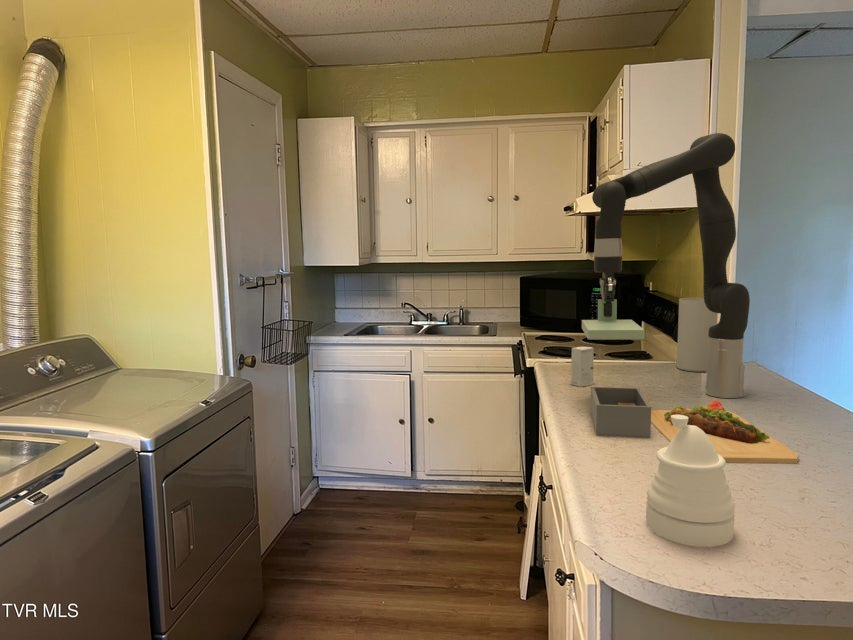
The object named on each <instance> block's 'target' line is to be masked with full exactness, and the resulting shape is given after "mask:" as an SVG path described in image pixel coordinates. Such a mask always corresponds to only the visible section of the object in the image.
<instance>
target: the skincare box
mask: <svg viewBox="0 0 853 640" xmlns="http://www.w3.org/2000/svg"><path fill="white" fill-rule="evenodd" d="M594 352H595V351H594V347H590V346H577V347H572V348H571V372H570V373H571V377H570V378H571V379H570V380H571V383H570V385H572V386H574V385H575V387H578V386H579V388H582V387H588V386H592V385H593V384H594V357H595V356H594V354H595V353H594Z"/></svg>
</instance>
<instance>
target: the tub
mask: <svg viewBox="0 0 853 640" xmlns="http://www.w3.org/2000/svg"><path fill="white" fill-rule="evenodd" d="M618 403H634V404H635V405H636V406H629V405H618ZM651 410H652V406H651V404H650V403H649V401H648V400H647V398H646V396H645V395H644V394H643V392H642V391H641V389H640V387H639V388H638V387H637V388H636V387H609V386H608V387H607V386H591V387H590V411H589V413H590V417H591V420H592V421H591V422H592V425H593V428H594V433H595V436H601V437H602V436H603V437H604V436H605V437H618V438H619V437H623V438H624V437H625V438H643V439H644V438H647V439H651V430H652V429H651V425H652V423H651Z"/></svg>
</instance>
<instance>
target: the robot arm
mask: <svg viewBox="0 0 853 640" xmlns="http://www.w3.org/2000/svg"><path fill="white" fill-rule="evenodd" d="M735 153H736V142H735V141H734V139H733V138H732V137H731V136H730V135H728V134H726V133H721V132H715V133H710V134H708V135H704V136H700V137H698V138H697V139H695V140H694V141H692V143H691V145H690V147H689V149H688V150H686V151H683V152H681V153H679V154H676V155H673V156H670V157H667V158H664V159H662V160H658V161H655V162H652V163H650V164H647V165H645V166H643V167H640V168H638V169H636V170H634V171H631V172H629V173H628V174H625V175H623V176H621V177H618V178H614V179H612V180H610V181H607V182H604V183H601V184H599V185H598V186H597V187H596V188H594V190H593V192H592V202H593V204H594V205H595V206H596V207H597V208H600V212H599V217H598V219H597V220H596V222H595V235H594V236H595V237H594V245H593V246H594V252H593V253H594V254H593V255H594V256H593V258H594V259H593V271H594V272H595V273H602V278H599V285H600V295H601V298H600V299H603V302H604V316H605V317H611V316H612V304H611V303H613V302H614V299H615V294H616V288H617V287H616V284H617V279H616V278H615V277H614V274H615V273H621V272H622V271H623V242H622V228H623V227H622V226H623V225H622V221H623V218H624V212H625V208H626V203H627V202H626V201H627V200H630V199H633V198H637V197H639V196H643V195H645V194H647V193H650V192H652V191H655V190H657V189H659V188H662V187H665V186H666V185H668V184H670V183H672V182H674V181H676V180H679V179H681V178H683V177H686V176H689V175H691V174H692V178H693V183H694V189H695V196H696V198H695V199H696V206H697V207H696V208H697V214H698V216H697V217H698V227H699V234H700V243H701V251H702V252H701V253H702V266H703V290H702V291H703V292H702V293H703V298H704V302H705V305H706V307H707V308H708V309H709V310H710V311H712V312H714V313H718V314H720V317H719V321H718V322H717V325H714V326H711V327H710V328H709V332H708V356H707V372H706V384H705V394H707V395H708V396H711V397H714V398H721V399H735V398H736V399H738V398H744V385H745V369H746V368H745V365H744V364H743V359H744V358H743V354H744V337H745V333H746V330H747V327H748V321H749V315H750V313H749V311H750V303H751V301H750V299H751V297H750V292H749V290H748V288H747V287H746V286H745V285H744V284H741V283H737V282H736V283H735V282H729V281H728V276H727V264H728V263H727V261H728V259H729V256H730V253H731V252H732V249H733V247H734V244H735V241H736V237H737V230H736V219H735V213H734V209H733V207H732V205H731V203H730V201H729V199H728V197H727V195H726V193H725V192H724V189H723V187H722V184H721V179H720V178H721V177H720V167H723V166H725V165H726V164H728V163H729V162H730V161H731V160H732V158H733V157H734V156H735Z"/></svg>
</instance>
